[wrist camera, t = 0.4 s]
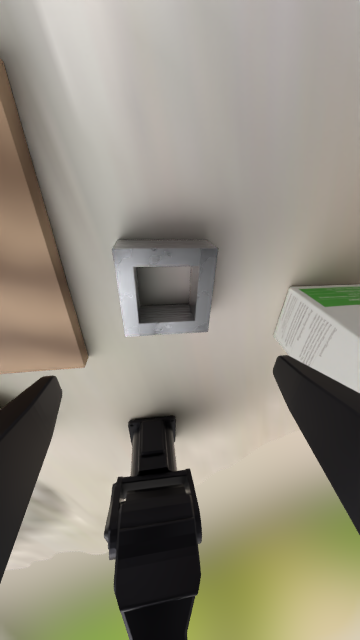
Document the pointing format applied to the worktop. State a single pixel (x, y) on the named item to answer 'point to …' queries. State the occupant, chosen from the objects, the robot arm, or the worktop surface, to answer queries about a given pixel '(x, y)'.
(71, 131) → the worktop surface
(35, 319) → the keeper board
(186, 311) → the steel link
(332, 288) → the skincare box
